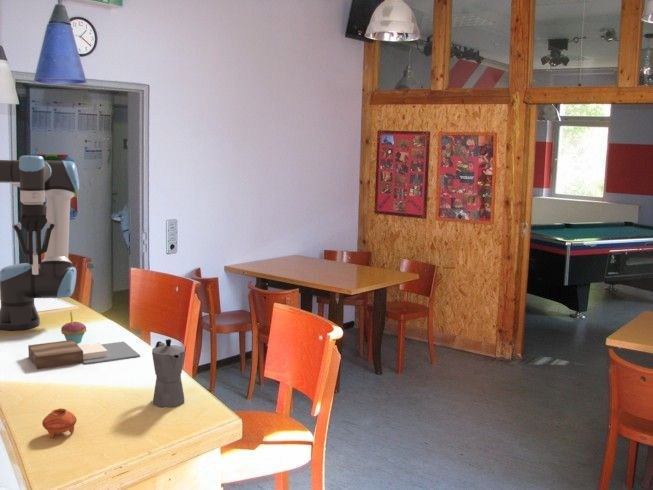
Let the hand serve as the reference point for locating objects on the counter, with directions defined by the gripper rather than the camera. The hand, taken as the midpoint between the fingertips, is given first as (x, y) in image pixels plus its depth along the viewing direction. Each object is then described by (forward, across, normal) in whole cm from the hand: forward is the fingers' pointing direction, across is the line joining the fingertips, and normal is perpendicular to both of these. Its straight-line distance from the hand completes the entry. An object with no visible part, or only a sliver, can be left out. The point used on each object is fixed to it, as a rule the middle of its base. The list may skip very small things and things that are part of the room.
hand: (35, 273), depth 240 cm
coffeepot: (+27, +22, -64) cm, 73 cm away
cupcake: (+27, +13, +5) cm, 30 cm away
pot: (+27, -9, -73) cm, 78 cm away
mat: (+26, +19, -13) cm, 35 cm away
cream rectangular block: (+26, +14, -13) cm, 32 cm away
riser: (+26, +3, -13) cm, 30 cm away
